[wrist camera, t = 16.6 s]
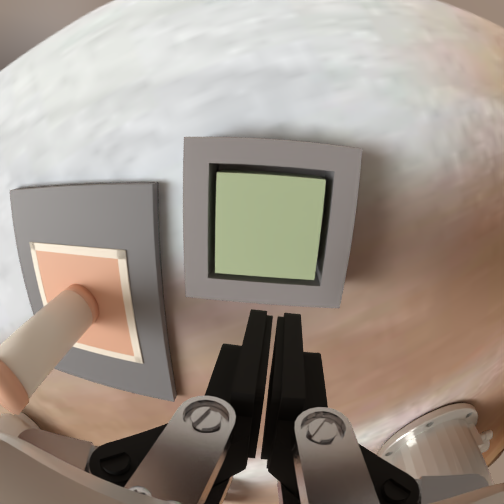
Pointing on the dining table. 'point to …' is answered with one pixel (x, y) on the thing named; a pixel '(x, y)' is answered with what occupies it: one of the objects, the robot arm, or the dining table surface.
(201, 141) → the button housing
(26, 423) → the teacup
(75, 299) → the marker
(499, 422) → the dining table surface
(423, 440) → the robot arm
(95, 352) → the picture board
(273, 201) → the button
